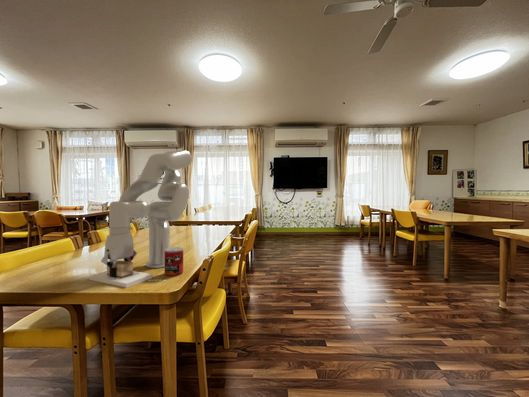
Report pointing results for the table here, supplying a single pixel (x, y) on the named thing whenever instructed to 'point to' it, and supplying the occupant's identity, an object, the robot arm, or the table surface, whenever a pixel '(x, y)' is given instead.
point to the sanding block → (122, 269)
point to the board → (121, 279)
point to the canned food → (173, 261)
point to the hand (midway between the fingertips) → (120, 274)
